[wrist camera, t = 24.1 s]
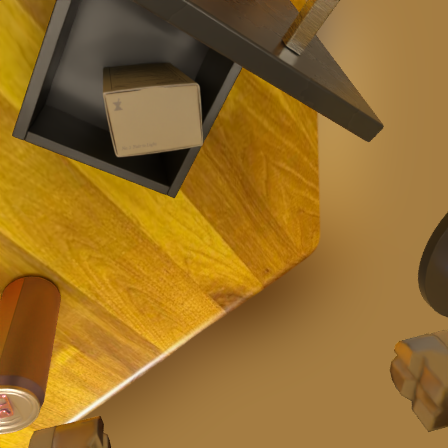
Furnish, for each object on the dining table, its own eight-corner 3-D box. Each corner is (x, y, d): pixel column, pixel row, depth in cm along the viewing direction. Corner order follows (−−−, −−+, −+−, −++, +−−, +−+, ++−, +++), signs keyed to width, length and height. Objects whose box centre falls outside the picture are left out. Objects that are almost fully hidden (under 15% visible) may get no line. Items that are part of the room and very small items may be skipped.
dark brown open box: (162, 160, 40) (174, 198, 32) (33, 106, 34) (11, 136, 27) (240, -1, 34) (278, -2, 27) (102, -96, 29) (99, -133, 21)
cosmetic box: (111, 115, 36) (112, 160, 26) (101, 64, 33) (98, 91, 23) (178, 108, 37) (204, 149, 27) (173, 58, 35) (200, 82, 24)
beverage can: (55, 269, 43) (33, 380, 30) (65, 310, 46) (49, 426, 33) (-4, 277, 42) (-53, 396, 29) (11, 318, 45) (-28, 442, 32)
